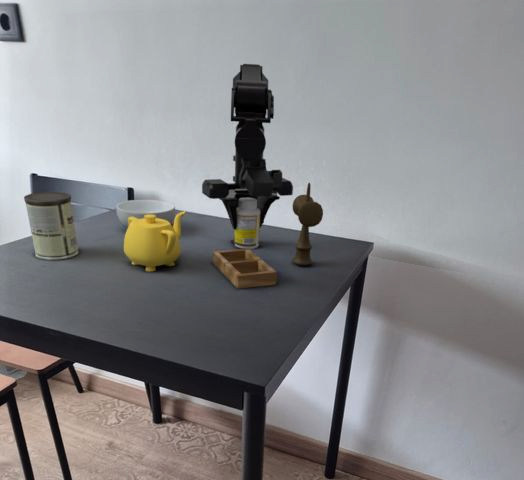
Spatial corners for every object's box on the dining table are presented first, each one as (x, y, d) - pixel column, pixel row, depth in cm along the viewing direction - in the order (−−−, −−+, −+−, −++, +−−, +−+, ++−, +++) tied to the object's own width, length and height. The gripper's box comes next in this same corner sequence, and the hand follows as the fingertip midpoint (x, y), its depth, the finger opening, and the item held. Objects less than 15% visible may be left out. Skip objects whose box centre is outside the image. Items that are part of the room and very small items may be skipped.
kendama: (294, 270, 119) (300, 186, 109) (287, 257, 127) (293, 178, 117) (317, 270, 120) (326, 187, 110) (309, 257, 128) (317, 179, 118)
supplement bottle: (245, 240, 111) (246, 195, 106) (264, 246, 108) (266, 199, 103) (228, 245, 108) (229, 198, 103) (247, 251, 105) (249, 203, 100)
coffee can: (36, 248, 124) (25, 191, 117) (79, 246, 127) (71, 191, 120) (33, 261, 116) (21, 201, 109) (78, 259, 119) (70, 200, 112)
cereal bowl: (170, 239, 136) (169, 214, 133) (111, 236, 136) (108, 210, 133) (180, 223, 151) (179, 200, 148) (126, 220, 151) (124, 197, 147)
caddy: (212, 263, 121) (212, 251, 119) (247, 259, 124) (247, 248, 123) (237, 288, 107) (238, 276, 105) (276, 284, 110) (276, 271, 109)
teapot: (182, 274, 113) (180, 224, 107) (120, 273, 112) (115, 222, 106) (187, 255, 125) (185, 208, 119) (130, 253, 124) (126, 206, 118)
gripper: (219, 158, 89) (218, 242, 96) (308, 157, 95) (301, 235, 103) (200, 150, 97) (201, 227, 105) (283, 149, 104) (279, 222, 112)
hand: (246, 228), depth 106 cm, fingers closed on supplement bottle, 5 cm apart
